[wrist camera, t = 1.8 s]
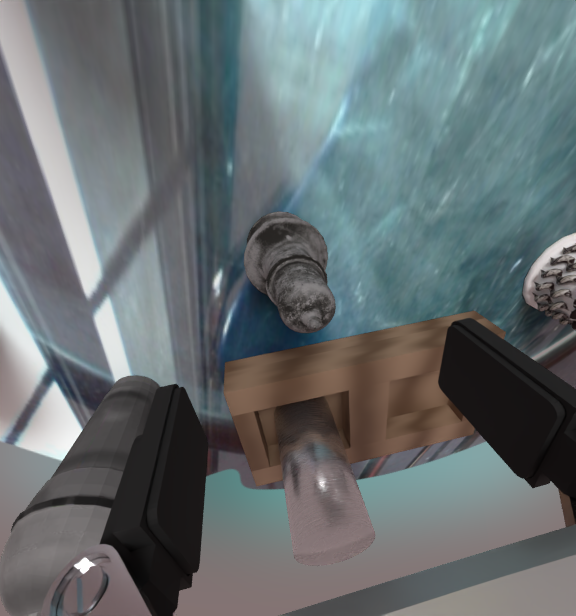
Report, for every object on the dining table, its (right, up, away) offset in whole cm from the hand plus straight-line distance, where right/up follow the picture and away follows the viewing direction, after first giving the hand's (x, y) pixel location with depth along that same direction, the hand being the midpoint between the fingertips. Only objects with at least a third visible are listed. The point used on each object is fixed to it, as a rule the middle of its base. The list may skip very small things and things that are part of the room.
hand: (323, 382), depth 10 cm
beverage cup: (-16, -6, +18) cm, 25 cm away
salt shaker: (-2, +8, +13) cm, 15 cm away
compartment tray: (+6, -7, +22) cm, 24 cm away
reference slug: (0, -9, +21) cm, 22 cm away
